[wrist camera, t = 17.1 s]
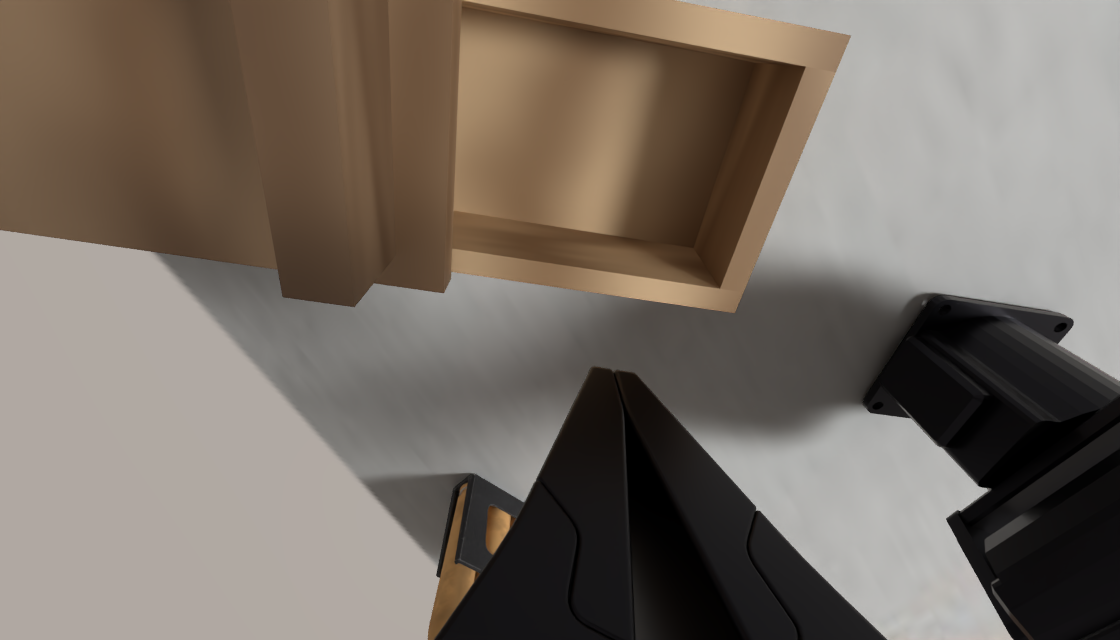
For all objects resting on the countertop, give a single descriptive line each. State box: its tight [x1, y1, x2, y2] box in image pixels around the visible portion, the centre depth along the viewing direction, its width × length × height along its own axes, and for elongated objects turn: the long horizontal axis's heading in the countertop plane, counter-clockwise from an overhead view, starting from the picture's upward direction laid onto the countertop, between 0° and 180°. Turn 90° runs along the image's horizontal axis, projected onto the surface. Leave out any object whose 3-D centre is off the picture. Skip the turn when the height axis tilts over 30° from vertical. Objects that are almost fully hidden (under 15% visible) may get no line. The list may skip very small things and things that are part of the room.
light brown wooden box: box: [451, 0, 851, 313], centre depth 14 cm, size 13×8×4 cm, turn 81°
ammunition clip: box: [428, 474, 524, 640], centre depth 23 cm, size 11×2×12 cm, turn 47°
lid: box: [0, 0, 462, 307], centre depth 10 cm, size 13×8×4 cm, turn 81°
